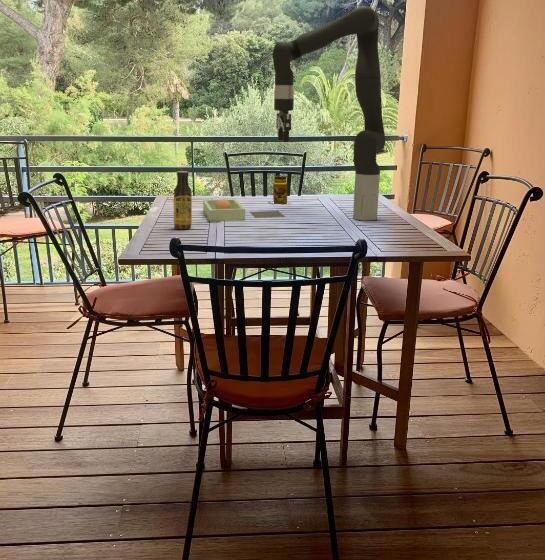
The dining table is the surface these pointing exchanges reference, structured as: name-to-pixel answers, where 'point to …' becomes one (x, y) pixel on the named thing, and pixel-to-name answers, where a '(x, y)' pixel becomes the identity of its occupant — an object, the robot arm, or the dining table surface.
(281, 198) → the condiment
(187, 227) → the sauce bottle
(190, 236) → the dining table surface
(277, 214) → the mat
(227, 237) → the dining table surface
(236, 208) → the tray
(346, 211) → the dining table surface
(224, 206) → the ball
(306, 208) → the dining table surface
